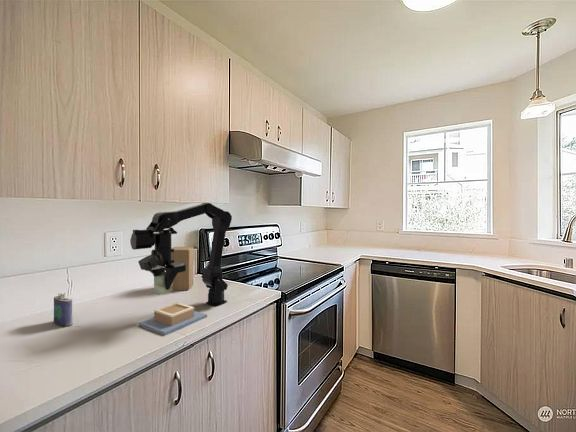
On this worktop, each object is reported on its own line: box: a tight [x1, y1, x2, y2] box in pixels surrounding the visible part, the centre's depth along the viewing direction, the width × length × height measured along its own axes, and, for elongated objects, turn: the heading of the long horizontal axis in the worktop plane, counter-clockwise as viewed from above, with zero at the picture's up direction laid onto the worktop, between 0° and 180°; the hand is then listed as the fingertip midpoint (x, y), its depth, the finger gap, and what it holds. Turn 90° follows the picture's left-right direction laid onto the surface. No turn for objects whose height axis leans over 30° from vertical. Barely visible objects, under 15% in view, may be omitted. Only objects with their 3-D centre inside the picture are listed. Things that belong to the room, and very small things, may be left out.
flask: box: [53, 293, 74, 328], centre depth 100 cm, size 9×3×11 cm, turn 63°
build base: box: [138, 302, 208, 336], centre depth 103 cm, size 18×14×5 cm
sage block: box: [153, 275, 174, 296], centre depth 106 cm, size 4×4×6 cm
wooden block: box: [171, 246, 195, 291], centre depth 144 cm, size 10×10×20 cm
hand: (163, 288), depth 106 cm, fingers closed on sage block, 4 cm apart
